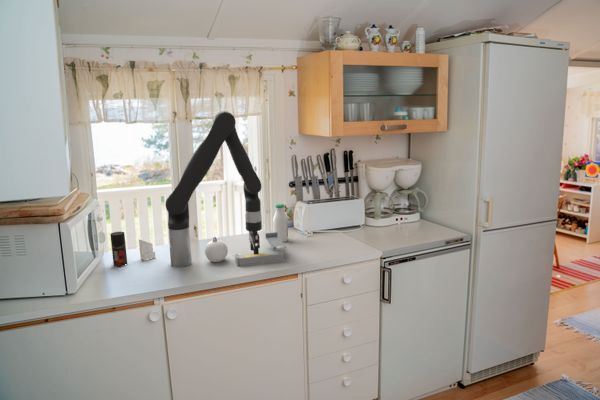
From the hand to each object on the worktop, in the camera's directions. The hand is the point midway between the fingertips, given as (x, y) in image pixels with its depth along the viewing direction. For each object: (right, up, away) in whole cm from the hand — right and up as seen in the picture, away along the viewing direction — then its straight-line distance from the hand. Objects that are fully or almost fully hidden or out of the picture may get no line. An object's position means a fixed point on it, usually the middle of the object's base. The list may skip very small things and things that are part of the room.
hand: (254, 253), depth 216 cm
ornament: (-17, -4, -4) cm, 18 cm away
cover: (+10, +4, +4) cm, 12 cm away
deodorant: (-61, -5, -6) cm, 62 cm away
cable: (+2, -3, -7) cm, 8 cm away
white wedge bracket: (-51, -3, +1) cm, 51 cm away
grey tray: (+2, -3, -2) cm, 4 cm away
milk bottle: (+11, +3, +26) cm, 29 cm away
